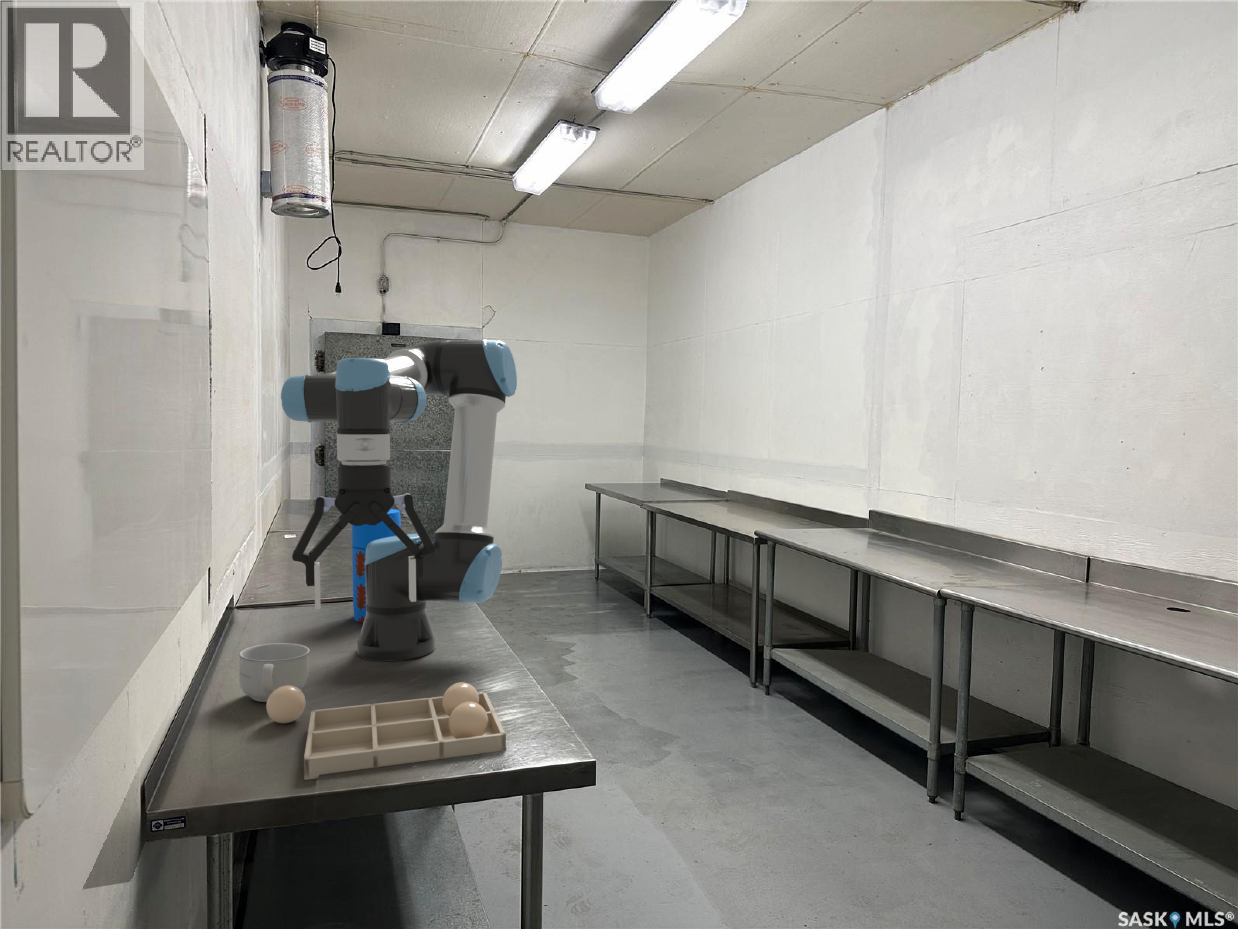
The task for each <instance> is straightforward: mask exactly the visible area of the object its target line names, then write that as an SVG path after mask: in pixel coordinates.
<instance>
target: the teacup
mask: <svg viewBox="0 0 1238 929" xmlns="http://www.w3.org/2000/svg"><path fill="white" fill-rule="evenodd" d="M310 652H311V650H310V648H309V647H308V646H307V645H303V644H299V643H289V642H287V643H286V642H273V643H265V644H264V643H263V644H257V645H254V646H250V647H246V648H244V649H243V650H241V651H240V652H239V655H238V656H239V686H240V688H241V691H242V692H243V693H244V694H245V695H247V696H248V697H250V698H251V699H252V700H253V701H255V702H260V703H261V702H262V703H267V700H268V698H269V696H270V694H271V693H272V692H273V691H274V690H276V689H277V688H279V687H282V686H286V685H290V686H295V687H297V688H299V689H300V690H301V691H302V689H303V688H304V687H305V685H306V683H307V680H308V673H309V672H308V670H309V657H310Z"/></svg>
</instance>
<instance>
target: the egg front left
mask: <svg viewBox="0 0 1238 929" xmlns="http://www.w3.org/2000/svg"><path fill="white" fill-rule="evenodd" d="M487 726H488V716H487V713H486V711H485V709H484V708H483V707H482V706H481V705H479V704H477V703H475V702H464V703H461V704H459V705H458V706H457V707H455V708H454V710H453V711H452V713H451V714H450V717H449V729H450V732H451V734H452V735H453V736H454V737H455V738H456V739H459V738H467V737H475V736H482V735H483V734H484V733H485V731H486V729H487Z"/></svg>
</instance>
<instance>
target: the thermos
mask: <svg viewBox="0 0 1238 929" xmlns="http://www.w3.org/2000/svg"><path fill="white" fill-rule="evenodd" d="M387 514H388V515H389V516H390V517H391V518H392V519H393V520H394V521H395V523H396V524H397V525H398V526H399V527H400V528H401V529H402V527H401V526H402V525H401V522H402V521H401V519H402V518H401V517H402V516H401V512H400V510H399V509H393V508H391V509H390V510H389V512H388V513H387ZM392 536H396V535H395V534H394V533H393V532H392V531H391V530H390V529H389V528H388V527H387V526H386V525H385V523H384V522H383V521H381V522H380V523H379V524H376V525H367V524H364V525H361V526H354V525H351V546H352V548H351V553H352V554H351V555H352V558H351V559H352V562H351V563H352V606H353V607H352V608H353V619H354V621H355V622H358V623H364V620H365V617H366V577H365V565H364V564H365V557H366V548H367V546H368V544H369V543H371V542H372V541H375V540H378V539H382V538H386V537H392Z"/></svg>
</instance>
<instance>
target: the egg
mask: <svg viewBox="0 0 1238 929" xmlns="http://www.w3.org/2000/svg"><path fill="white" fill-rule="evenodd" d="M265 707H266V712H267V715H268V716H269V718H270V719H271V720H272V721H274V722H275V723H278V724H289V723H292V722H295V721H296V720H297V719H298V718H300V717H301V716H302V715H303V713H304V712H305V708H306V697H305V694H304V693H303V691H302V689H301V690H300V689H299V688H297V687H295V686H290V685H286V686H282V687H279V688H277V689H276V690H274V691H273V692H272V693H271V694H270V696H269V698H268V700H267V702H266V704H265Z"/></svg>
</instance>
